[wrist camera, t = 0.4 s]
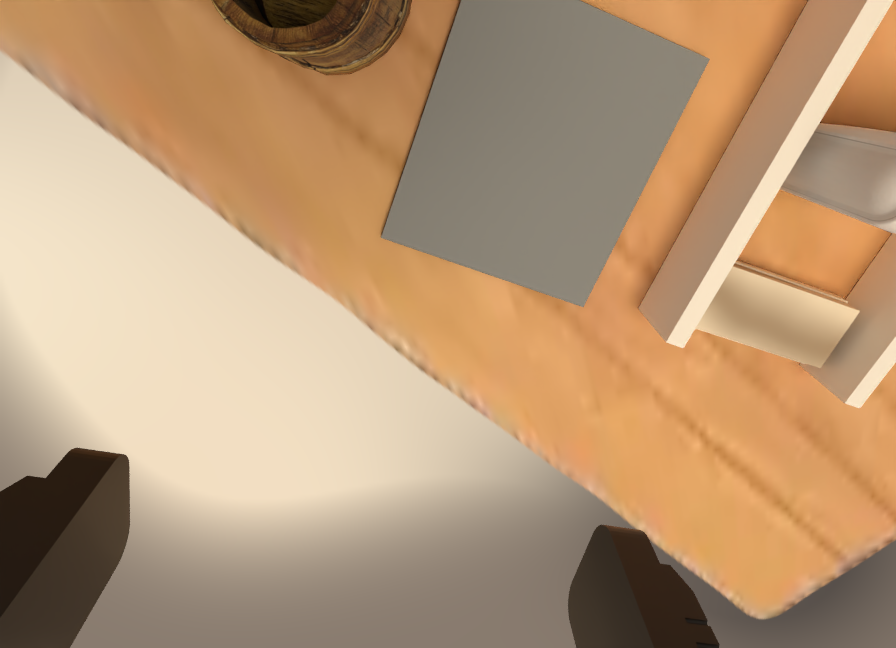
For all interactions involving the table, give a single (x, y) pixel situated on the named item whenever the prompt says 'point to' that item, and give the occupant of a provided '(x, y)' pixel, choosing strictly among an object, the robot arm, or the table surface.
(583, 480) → the table surface
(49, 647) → the robot arm
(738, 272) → the offcut stack
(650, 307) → the rack
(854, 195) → the photo printer
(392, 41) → the wooden mug
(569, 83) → the mat
